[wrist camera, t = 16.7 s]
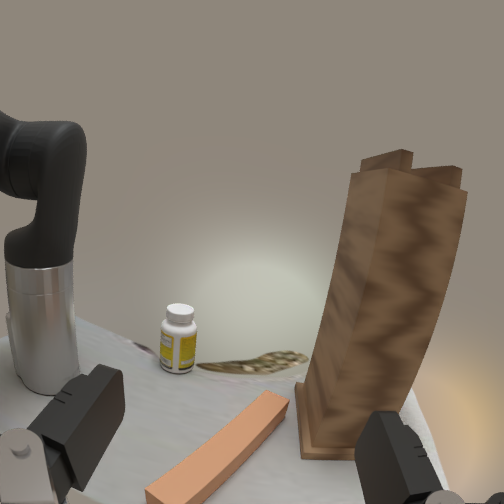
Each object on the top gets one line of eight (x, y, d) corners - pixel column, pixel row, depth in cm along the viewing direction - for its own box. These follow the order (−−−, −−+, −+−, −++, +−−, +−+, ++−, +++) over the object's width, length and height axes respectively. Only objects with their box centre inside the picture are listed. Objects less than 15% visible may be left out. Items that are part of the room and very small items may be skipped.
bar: (147, 506, 21) (144, 488, 20) (261, 409, 40) (266, 389, 39) (176, 527, 19) (175, 511, 19) (284, 419, 38) (289, 399, 37)
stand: (301, 458, 30) (384, 141, 23) (294, 388, 45) (344, 157, 38) (385, 458, 30) (483, 174, 23) (360, 393, 45) (418, 176, 38)
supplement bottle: (195, 358, 49) (201, 304, 47) (192, 377, 44) (197, 319, 42) (163, 353, 49) (166, 299, 47) (156, 371, 44) (158, 313, 42)
